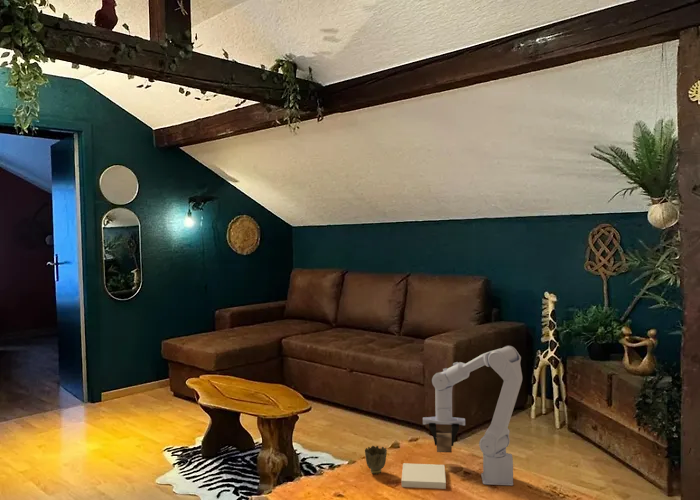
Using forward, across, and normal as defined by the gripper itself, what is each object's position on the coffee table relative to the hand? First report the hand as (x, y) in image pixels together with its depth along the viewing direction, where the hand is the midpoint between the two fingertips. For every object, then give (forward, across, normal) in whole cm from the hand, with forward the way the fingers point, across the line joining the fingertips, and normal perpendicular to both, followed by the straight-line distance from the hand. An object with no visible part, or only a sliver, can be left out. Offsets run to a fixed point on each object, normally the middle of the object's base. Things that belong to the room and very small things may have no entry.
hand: (444, 444), depth 210 cm
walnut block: (+2, 0, 0) cm, 2 cm away
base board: (+7, +7, +12) cm, 16 cm away
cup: (+7, +23, +9) cm, 26 cm away
